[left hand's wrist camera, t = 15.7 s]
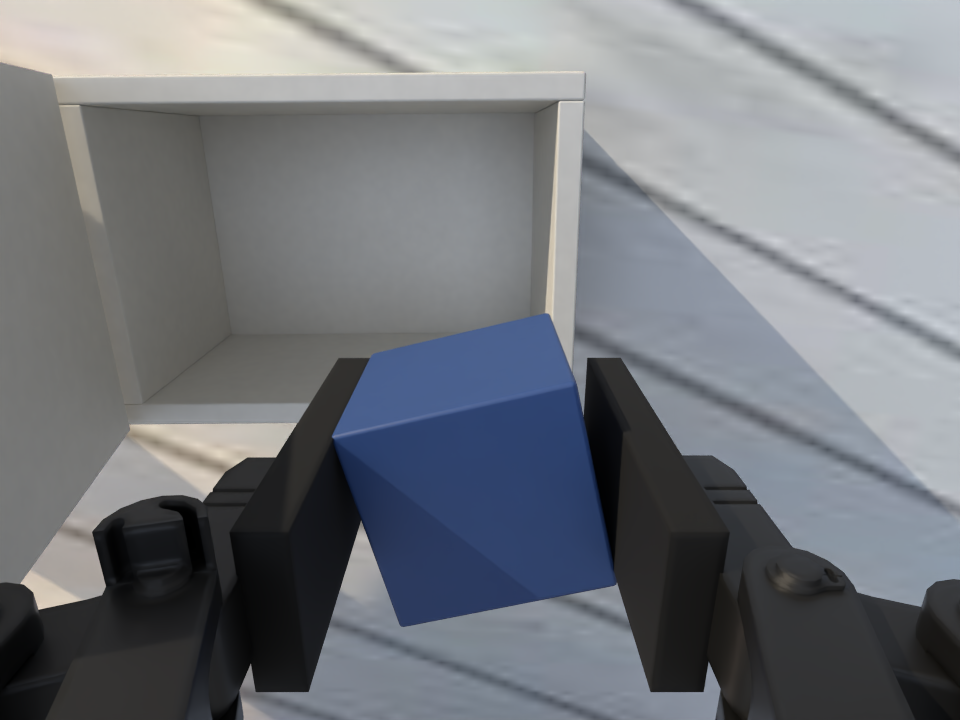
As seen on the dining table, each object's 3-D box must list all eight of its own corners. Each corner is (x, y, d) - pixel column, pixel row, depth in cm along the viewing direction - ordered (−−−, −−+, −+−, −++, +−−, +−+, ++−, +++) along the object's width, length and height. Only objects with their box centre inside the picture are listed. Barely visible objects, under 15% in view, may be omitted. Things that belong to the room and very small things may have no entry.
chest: (551, 93, 29) (586, 71, 20) (544, 342, 33) (570, 421, 24) (185, 97, 29) (47, 75, 20) (224, 345, 33) (124, 425, 24)
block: (549, 311, 14) (576, 381, 10) (583, 470, 15) (619, 586, 11) (370, 353, 14) (328, 437, 10) (419, 504, 16) (399, 629, 12)
